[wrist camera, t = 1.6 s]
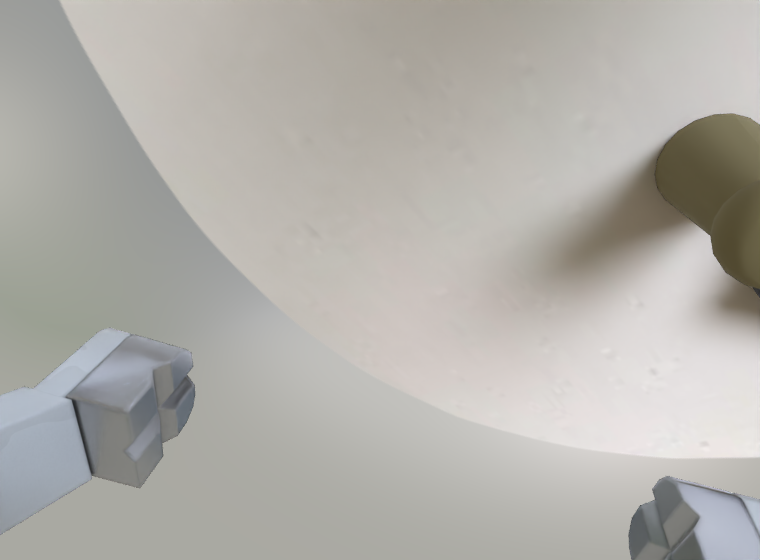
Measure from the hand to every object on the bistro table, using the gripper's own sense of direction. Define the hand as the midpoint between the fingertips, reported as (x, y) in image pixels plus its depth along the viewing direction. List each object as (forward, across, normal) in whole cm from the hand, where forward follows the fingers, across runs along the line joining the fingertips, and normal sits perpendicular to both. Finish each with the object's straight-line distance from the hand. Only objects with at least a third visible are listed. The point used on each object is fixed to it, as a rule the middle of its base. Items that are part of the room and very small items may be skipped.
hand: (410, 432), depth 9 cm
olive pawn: (+27, -14, +1) cm, 30 cm away
